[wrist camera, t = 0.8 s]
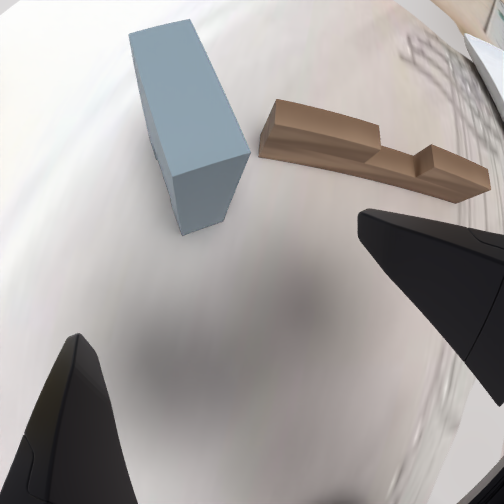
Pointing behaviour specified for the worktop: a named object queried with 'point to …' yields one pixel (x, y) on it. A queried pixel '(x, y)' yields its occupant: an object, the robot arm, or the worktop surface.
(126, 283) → the worktop surface
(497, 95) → the salad plate
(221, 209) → the rectangular block
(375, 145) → the slotted rail
